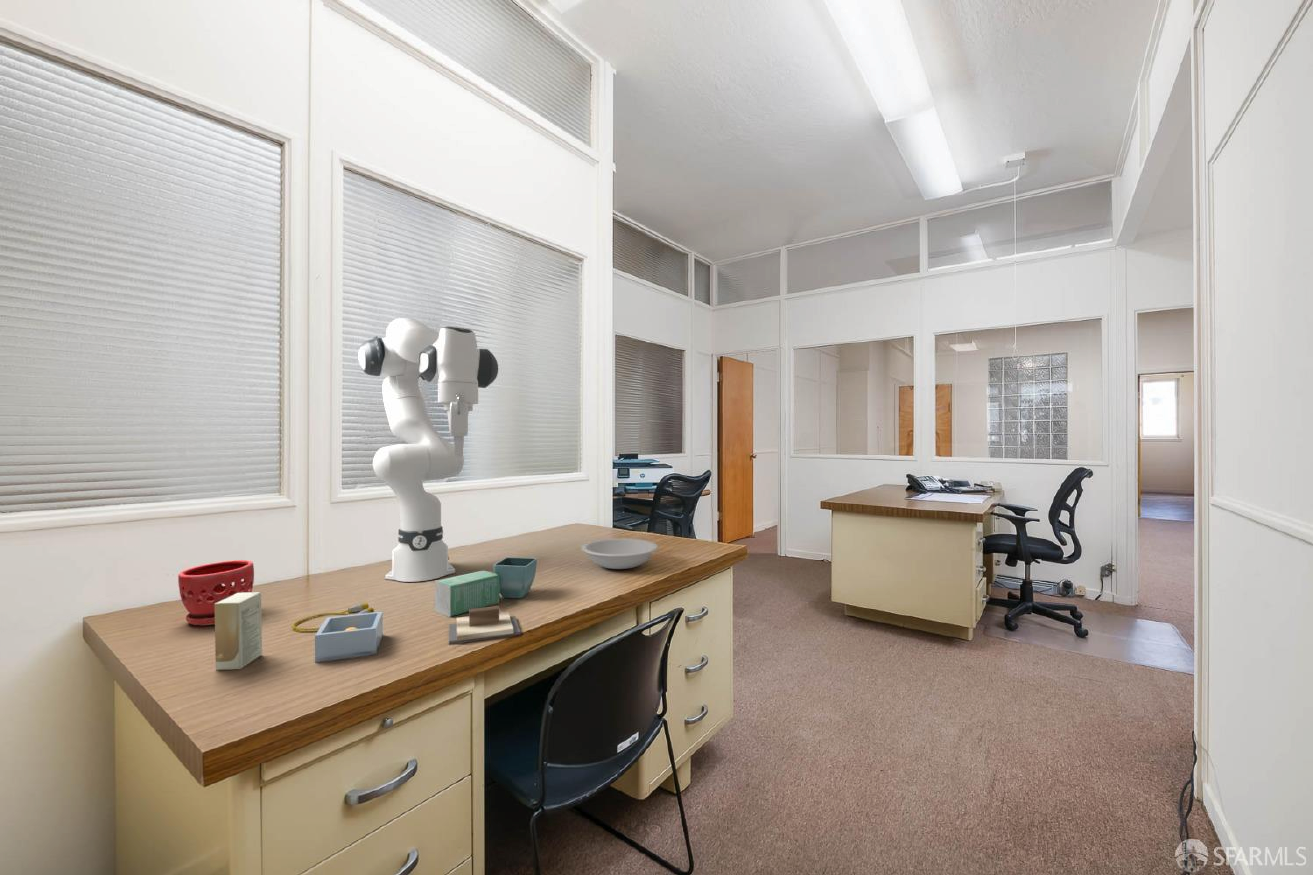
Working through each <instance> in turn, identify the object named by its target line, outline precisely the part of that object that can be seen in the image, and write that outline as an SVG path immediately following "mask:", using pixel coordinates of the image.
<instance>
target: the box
mask: <svg viewBox="0 0 1313 875" xmlns="http://www.w3.org/2000/svg"><path fill="white" fill-rule="evenodd" d="M500 595H501V594H500V583H499V575H498V574H495V573H494V572H491V571H487V570H478V571H474V572H471V573H470V572H469V573H465V574H461V575H456V576H452V577H447V578H442V579H439V580H435V581H434V612H435V613H438V614H440V615H442V616H444V617H447V618H451V617H454V616H457V615H461V614H465V613H469V609H477V608H485V607H490V606H493V605H496V604H499V603H500Z"/></svg>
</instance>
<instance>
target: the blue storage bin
mask: <svg viewBox="0 0 1313 875" xmlns="http://www.w3.org/2000/svg"><path fill="white" fill-rule="evenodd" d="M383 616H384V615H383V611H376V612H375V611H374V612H373V613H364V614H358V613H355V614H350V615H338V616H328V617H326V618H325V620H324V621H323V622H322V624H321V626H320V627H319V628H320V629H319V630H318V632H315V635H314V663H322V662H323V663H324V662H330V661H337V660H343V659H345V660H346V659H353V658H358V657H365V656H374V655H377V653H378V649H379V647H380V644H381V641H382V638H383V629H384V628H383V620H384V619H383ZM350 627H355V628H357V629H354V630H346V629H348V628H350ZM345 630H346V631H345Z"/></svg>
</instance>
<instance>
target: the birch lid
mask: <svg viewBox="0 0 1313 875" xmlns="http://www.w3.org/2000/svg"><path fill="white" fill-rule="evenodd" d="M468 614H469V615H468V616H461V617H456V623H457V641H461V640H468V639H476V638H483V637H490V636H498V635H505V634H513V626H512V622H511V619H510V617H511V616H510V613H509V611H501V612H500V607H499V605H494V606H486V607H482V608H477V609H469V612H468Z"/></svg>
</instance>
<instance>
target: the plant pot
mask: <svg viewBox="0 0 1313 875" xmlns="http://www.w3.org/2000/svg"><path fill="white" fill-rule="evenodd" d="M254 567H255V566H254V563H253V561H252V560H243V559H240V560H239V559H238V560H237V559H236V560H226V561H218V562H214V563H212V562H211V563H206V564H201V565H198V566H193V567H190V568H187V569H184V570H183V571H181V572H180V573H178V577H177V578H178V579H177V582H178V583H177V584H178V588H179V596H180V599H181V601H182V604H183V606H184V608H185V610H186V611H187V612H188V614H187V615H186V616H185V620H186V621H187V623H189V624H190V625H194V626H213V625H214V626H215V605H214V604H215V603H217V602H219V601H221V600H223V599H225V598H228V597H230V596H232V595H234V594H236V593H246V592H253V588H254V583H255V580H254V579H255V569H254ZM242 580H243V581H242Z"/></svg>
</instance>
